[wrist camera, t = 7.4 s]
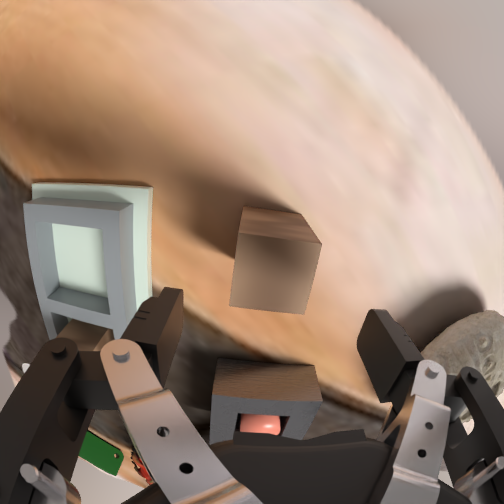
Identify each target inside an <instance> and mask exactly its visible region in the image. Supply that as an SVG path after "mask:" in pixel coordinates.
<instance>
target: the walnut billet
mask: <svg viewBox="0 0 504 504" xmlns="http://www.w3.org/2000/svg"><path fill="white" fill-rule="evenodd" d="M321 247H322V243H321V242H320V241H319V239H318V238H317V236H316V235H315V233H314V232H313V230H312V229H311V227H310V226H309V224H308V223H307V222H306V220H305V219H304V217H303V216H302V214H296V213H289V212H282V211H276V210H269V209H262V208H255V207H248V206H243V211H242V216H241V221H240V226H239V231H238V238H237V246H236V254H235V262H234V270H233V278H232V286H231V295H230V303H229V306H232V307H239V308H247V309H256V310H264V311H273V312H282V313H292V314H302V315H304V314H305V310H306V306H307V303H308V299H309V295H310V291H311V287H312V284H313V280H314V276H315V272H316V268H317V264H318V259H319V255H320V251H321Z"/></svg>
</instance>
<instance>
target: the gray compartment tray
mask: <svg viewBox="0 0 504 504" xmlns="http://www.w3.org/2000/svg"><path fill="white" fill-rule="evenodd" d="M152 199H153V187H145V186H130V185H114V184H93V183H60V182H37V183H34V184H32V200H31V201H28V202H25V203H23V206H24V219H25V229H26V238H27V246H28V252H29V259H30V264H31V270H32V275H33V280H34V285H35V289H36V293H37V297H38V301H39V305H40V309H41V313H42V316H43V320H44V323H45V326H46V330H47V333H48V336H49V339H50V340H52V339H55V338H56V337H57V336H58V334H59V333H60V332H61V331H62V330H63V329H64V327H65V326H66V325H67V324H68V323H69V322H70V321H71V320H72V318H73V319H76V320H80V321H83V322H87V323H90V324H94V325H98V326H102V327H106V328H110V329H113V333H114V338H115V340H117V339H120V338H121V336H122V334H123V333H124V331H125V329H126V328H127V326H128V325H129V323H130V321H131V320H132V318H134V315H135V313H136V312H137V311H138V308H139V307H140V305H141V304H142V302H144V301H145V300H147V299H148V298H150V297H152V274H151V227H152Z"/></svg>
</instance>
